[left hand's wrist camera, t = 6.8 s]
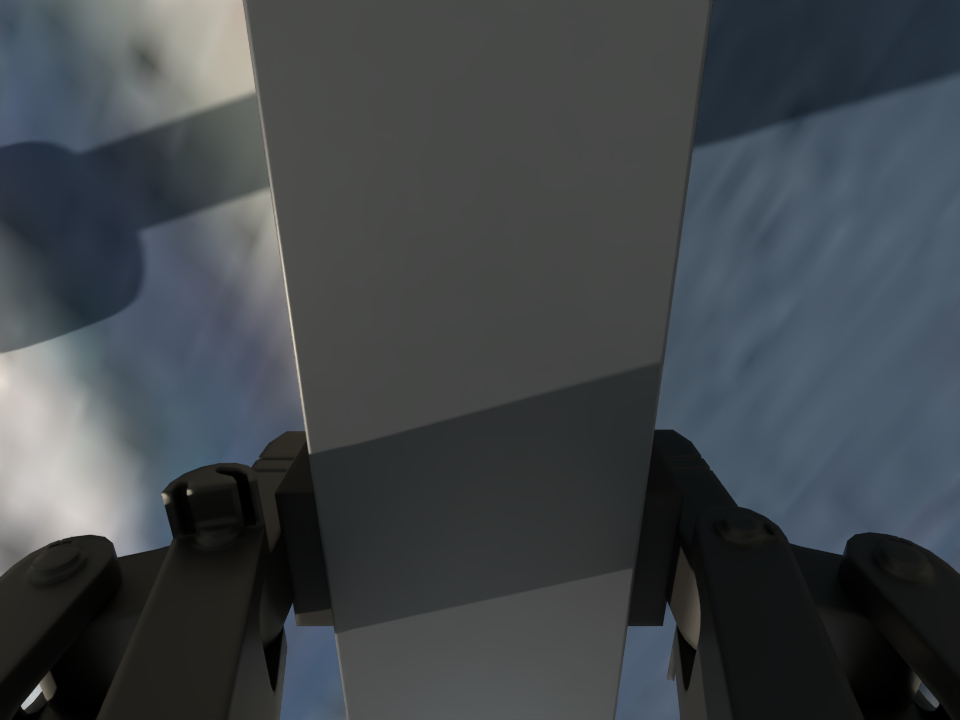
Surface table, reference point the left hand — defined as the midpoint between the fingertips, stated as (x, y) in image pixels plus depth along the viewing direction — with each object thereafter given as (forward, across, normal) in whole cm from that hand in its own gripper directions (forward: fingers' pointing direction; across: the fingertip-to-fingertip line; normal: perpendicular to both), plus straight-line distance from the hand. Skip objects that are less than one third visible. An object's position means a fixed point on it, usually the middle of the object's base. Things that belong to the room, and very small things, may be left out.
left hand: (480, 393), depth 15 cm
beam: (0, 0, -21) cm, 21 cm away
